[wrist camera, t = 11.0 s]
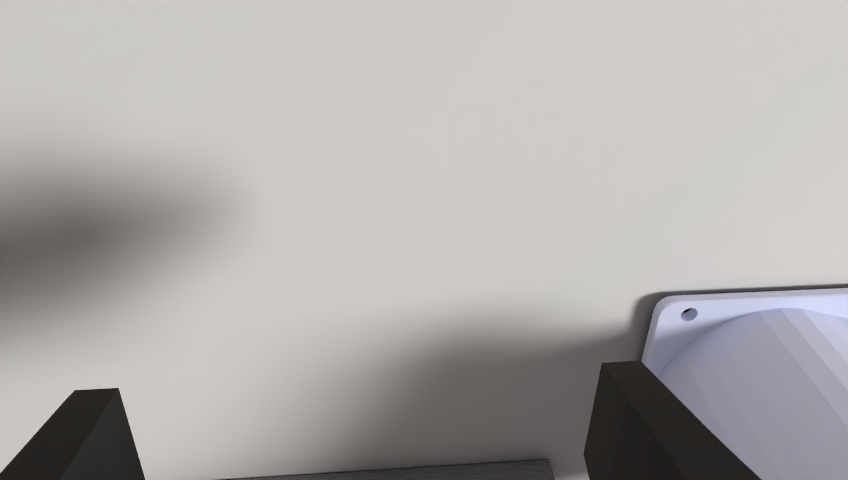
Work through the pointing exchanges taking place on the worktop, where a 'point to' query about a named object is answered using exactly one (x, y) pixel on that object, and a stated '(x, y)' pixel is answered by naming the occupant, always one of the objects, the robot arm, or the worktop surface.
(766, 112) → the worktop surface
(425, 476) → the pin plate
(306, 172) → the worktop surface
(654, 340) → the robot arm
